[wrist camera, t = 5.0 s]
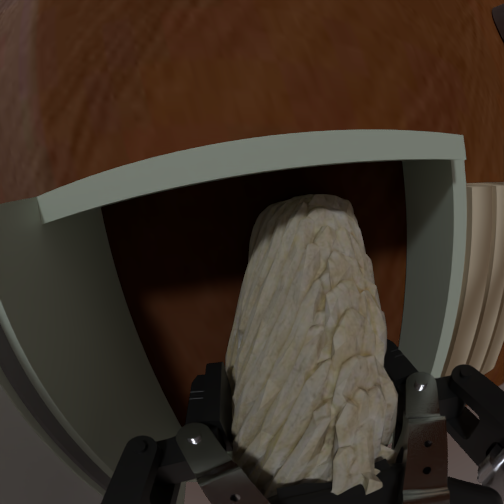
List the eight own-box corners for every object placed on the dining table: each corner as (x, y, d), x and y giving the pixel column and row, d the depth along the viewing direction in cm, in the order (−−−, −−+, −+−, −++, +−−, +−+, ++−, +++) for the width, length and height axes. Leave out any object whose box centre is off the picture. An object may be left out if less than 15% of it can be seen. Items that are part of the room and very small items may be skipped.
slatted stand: (509, 181, 13) (527, 184, 11) (483, 356, 18) (494, 366, 16) (445, 184, 13) (468, 187, 11) (419, 392, 17) (431, 406, 15)
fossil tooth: (354, 204, 14) (305, 420, 16) (240, 186, 13) (216, 423, 15) (560, 227, 3) (366, 548, 5) (383, 108, 2) (234, 576, 4)
